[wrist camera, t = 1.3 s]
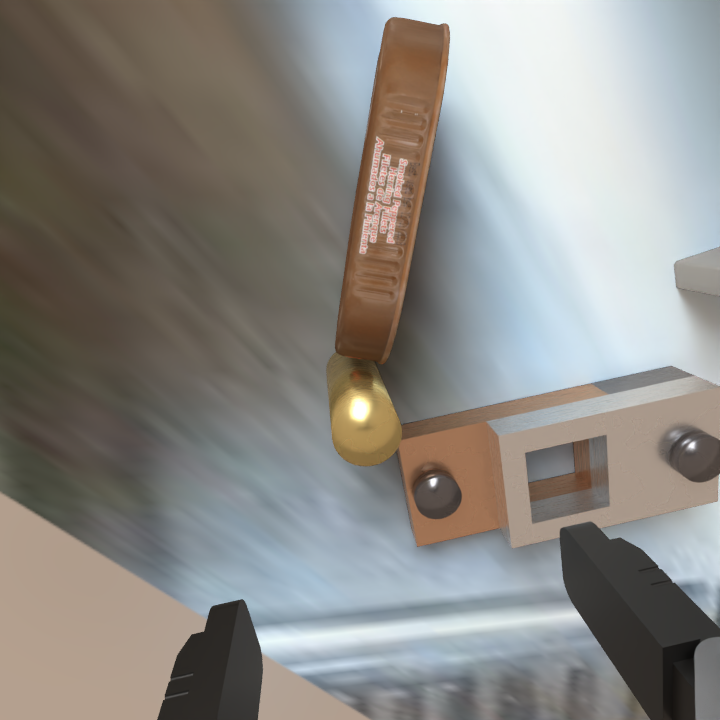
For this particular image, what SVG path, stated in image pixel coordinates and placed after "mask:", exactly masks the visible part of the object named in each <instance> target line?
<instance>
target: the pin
mask: <svg viewBox="0 0 720 720" xmlns="http://www.w3.org/2000/svg"><path fill="white" fill-rule="evenodd" d="M326 373H327V384H328V396H329V407H330V418H331V429H332V440H333V444H334V447H335V449H336V451H337V452H338V454H339V455H340V456H341V457H342V458H343V459H344V460H346V461H348V462H350V463H352V464H355V465H359V466H373V465H377V464H379V463H382V462H384V461H386V460H387V459H388V458H390V457H391V456H392V455H393V454H394V453H395V452H396V450H397V449H398V447H399V445H400V442H401V438H402V427H401V423H400V420H399V418H398V416H397V413H396V411H395V409H394V406H393V404H392V402H391V399H390V397H389V395H388V392H387V390H386V388H385V385H384V383H383V381H382V378H381V376H380V374H379V371H378V369H377V367H376V364H375V362H374V361H371V360H364V359H358V358H351V357H346V356H342V355H339V354H338V353H337V352H336V353H334V354H333V355H332V357H331V358H330V360H329V362H328V364H327V369H326Z"/></svg>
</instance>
